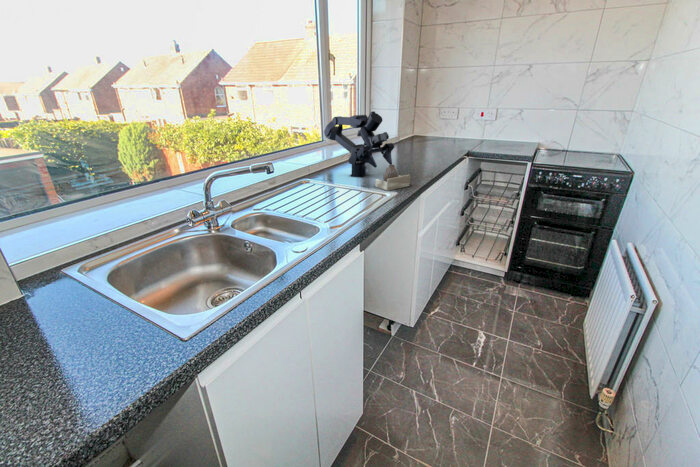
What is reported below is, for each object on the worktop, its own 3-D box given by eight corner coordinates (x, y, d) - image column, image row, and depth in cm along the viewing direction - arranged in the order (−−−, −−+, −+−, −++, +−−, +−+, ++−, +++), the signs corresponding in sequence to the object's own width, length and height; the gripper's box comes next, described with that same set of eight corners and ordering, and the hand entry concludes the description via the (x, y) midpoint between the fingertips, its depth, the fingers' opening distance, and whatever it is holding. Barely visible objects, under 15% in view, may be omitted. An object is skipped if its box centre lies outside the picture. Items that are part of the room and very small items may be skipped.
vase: (382, 185, 147) (382, 166, 143) (384, 181, 153) (385, 163, 149) (397, 186, 145) (398, 167, 142) (399, 182, 151) (400, 163, 148)
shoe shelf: (375, 186, 147) (375, 175, 145) (396, 181, 155) (397, 171, 153) (388, 190, 141) (388, 179, 139) (409, 185, 148) (410, 174, 146)
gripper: (360, 127, 141) (376, 157, 138) (392, 124, 151) (408, 152, 148) (350, 144, 150) (364, 172, 147) (380, 140, 160) (395, 166, 157)
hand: (383, 165), depth 149 cm, fingers open, 9 cm apart
